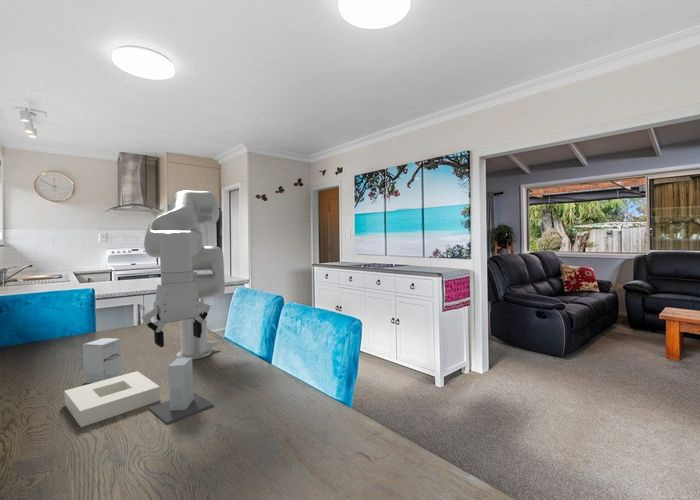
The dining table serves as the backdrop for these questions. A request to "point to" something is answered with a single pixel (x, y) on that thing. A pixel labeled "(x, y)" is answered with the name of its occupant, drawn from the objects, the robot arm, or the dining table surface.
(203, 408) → the rubber mat
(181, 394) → the skincare box
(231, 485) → the dining table surface
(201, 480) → the dining table surface
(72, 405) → the bore holder
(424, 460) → the dining table surface
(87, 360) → the supplement box
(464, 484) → the dining table surface
